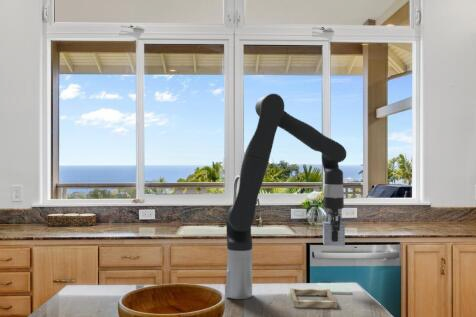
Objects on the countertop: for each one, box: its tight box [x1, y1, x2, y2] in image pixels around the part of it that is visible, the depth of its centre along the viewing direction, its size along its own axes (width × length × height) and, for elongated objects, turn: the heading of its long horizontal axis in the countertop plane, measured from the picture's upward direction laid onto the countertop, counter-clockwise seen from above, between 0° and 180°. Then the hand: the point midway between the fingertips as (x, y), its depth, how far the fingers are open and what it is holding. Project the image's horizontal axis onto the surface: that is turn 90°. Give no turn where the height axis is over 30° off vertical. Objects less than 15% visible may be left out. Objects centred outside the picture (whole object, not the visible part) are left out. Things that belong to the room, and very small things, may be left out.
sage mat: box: [316, 282, 352, 295], centre depth 160 cm, size 11×11×1 cm
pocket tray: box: [289, 288, 338, 309], centre depth 147 cm, size 14×14×2 cm
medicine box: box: [322, 221, 346, 247], centre depth 160 cm, size 8×4×9 cm, turn 84°
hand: (333, 239), depth 160 cm, fingers closed on medicine box, 4 cm apart
